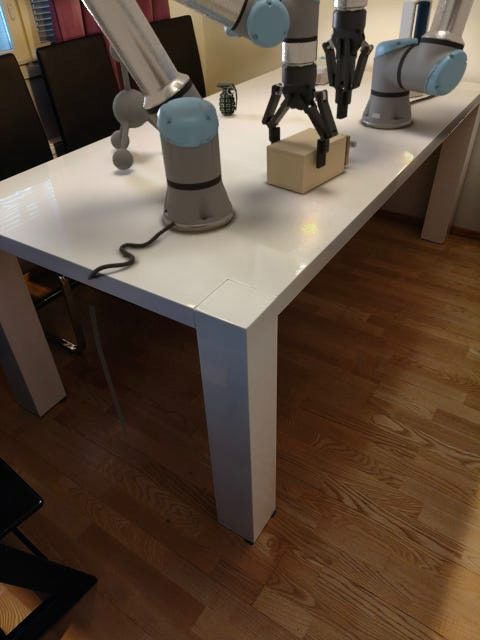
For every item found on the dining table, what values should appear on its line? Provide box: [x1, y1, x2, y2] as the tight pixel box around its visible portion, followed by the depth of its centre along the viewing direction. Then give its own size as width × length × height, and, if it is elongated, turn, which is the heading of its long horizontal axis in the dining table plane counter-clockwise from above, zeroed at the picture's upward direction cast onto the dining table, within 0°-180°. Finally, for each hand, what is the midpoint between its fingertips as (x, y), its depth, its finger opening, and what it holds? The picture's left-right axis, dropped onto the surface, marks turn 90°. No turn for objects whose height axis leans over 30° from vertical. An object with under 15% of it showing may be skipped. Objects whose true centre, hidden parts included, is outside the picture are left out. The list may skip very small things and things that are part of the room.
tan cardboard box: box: [266, 127, 348, 195], centre depth 120 cm, size 17×11×9 cm, turn 137°
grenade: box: [215, 82, 238, 117], centre depth 166 cm, size 7×6×10 cm
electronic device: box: [398, 0, 433, 98], centre depth 170 cm, size 12×8×30 cm, turn 105°
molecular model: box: [109, 43, 158, 171], centre depth 131 cm, size 24×22×30 cm
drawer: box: [338, 132, 358, 167], centre depth 123 cm, size 22×10×7 cm, turn 137°
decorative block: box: [314, 56, 337, 85], centre depth 205 cm, size 26×6×20 cm
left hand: (297, 160), depth 117 cm, fingers open, 13 cm apart
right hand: (341, 117), depth 124 cm, fingers closed
